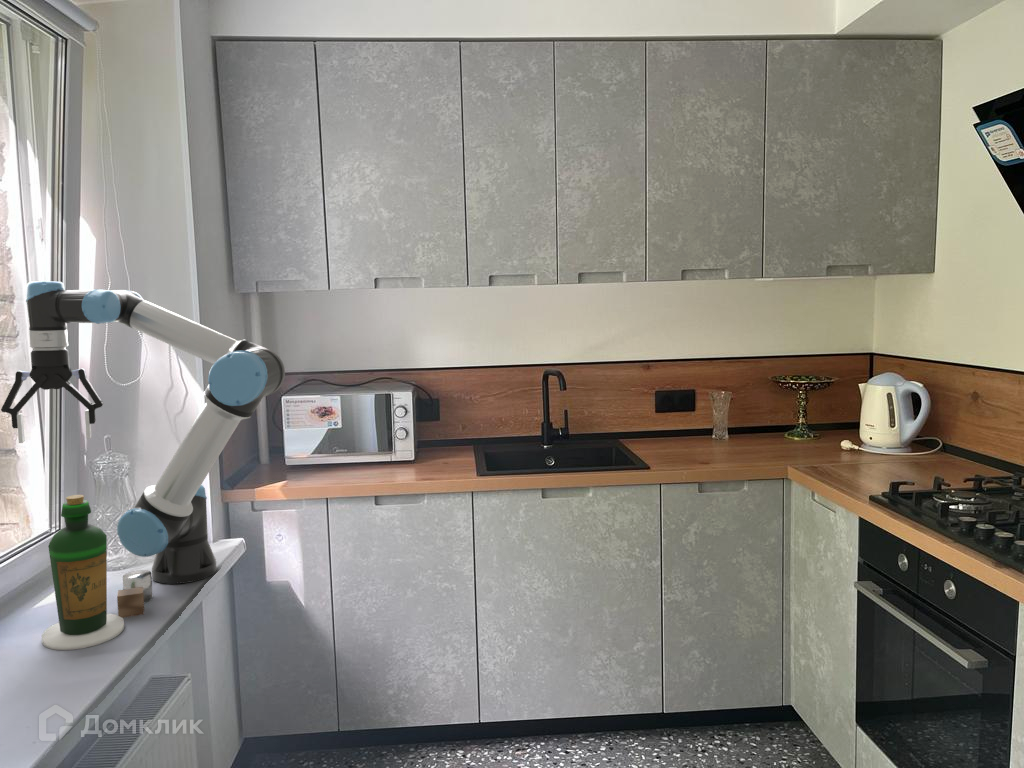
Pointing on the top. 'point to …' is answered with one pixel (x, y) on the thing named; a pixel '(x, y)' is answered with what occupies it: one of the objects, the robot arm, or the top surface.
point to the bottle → (79, 570)
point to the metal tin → (139, 582)
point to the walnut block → (130, 602)
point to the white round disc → (82, 635)
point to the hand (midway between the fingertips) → (55, 440)
